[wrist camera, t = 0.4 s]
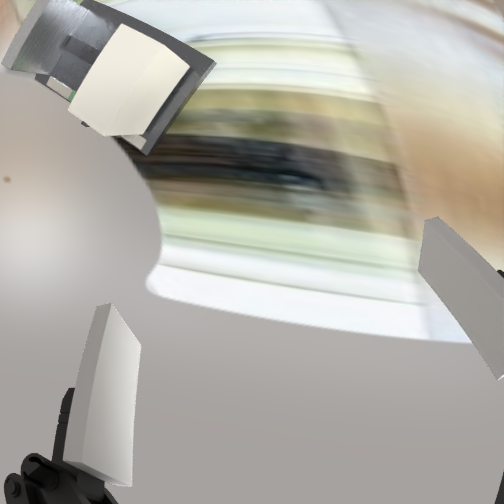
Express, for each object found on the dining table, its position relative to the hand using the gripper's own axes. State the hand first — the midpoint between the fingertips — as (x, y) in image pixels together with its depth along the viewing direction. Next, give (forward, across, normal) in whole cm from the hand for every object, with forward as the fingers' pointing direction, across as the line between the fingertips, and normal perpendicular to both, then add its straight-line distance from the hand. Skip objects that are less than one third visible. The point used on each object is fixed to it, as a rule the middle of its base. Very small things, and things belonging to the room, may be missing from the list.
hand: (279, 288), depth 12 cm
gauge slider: (+26, -8, +8) cm, 28 cm away
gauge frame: (+30, -11, +13) cm, 34 cm away
